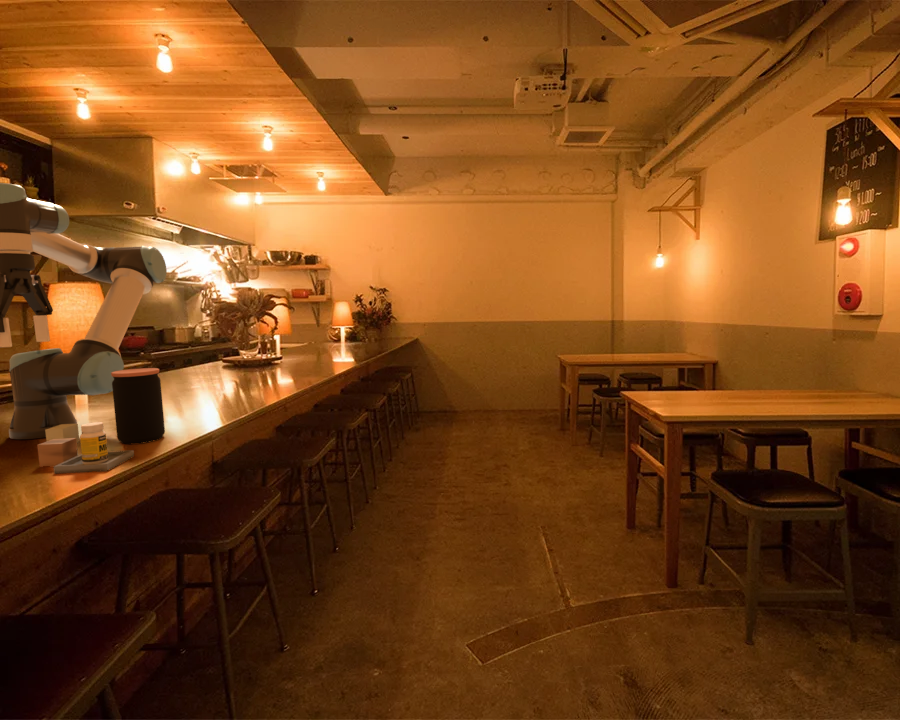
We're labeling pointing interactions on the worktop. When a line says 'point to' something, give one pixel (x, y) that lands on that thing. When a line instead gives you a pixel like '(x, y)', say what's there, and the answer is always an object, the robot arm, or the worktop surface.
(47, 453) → the walnut block
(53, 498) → the worktop surface
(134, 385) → the coffee jar
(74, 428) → the sage block
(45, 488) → the worktop surface
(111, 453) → the slate tray
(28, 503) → the worktop surface
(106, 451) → the supplement bottle
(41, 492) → the worktop surface
